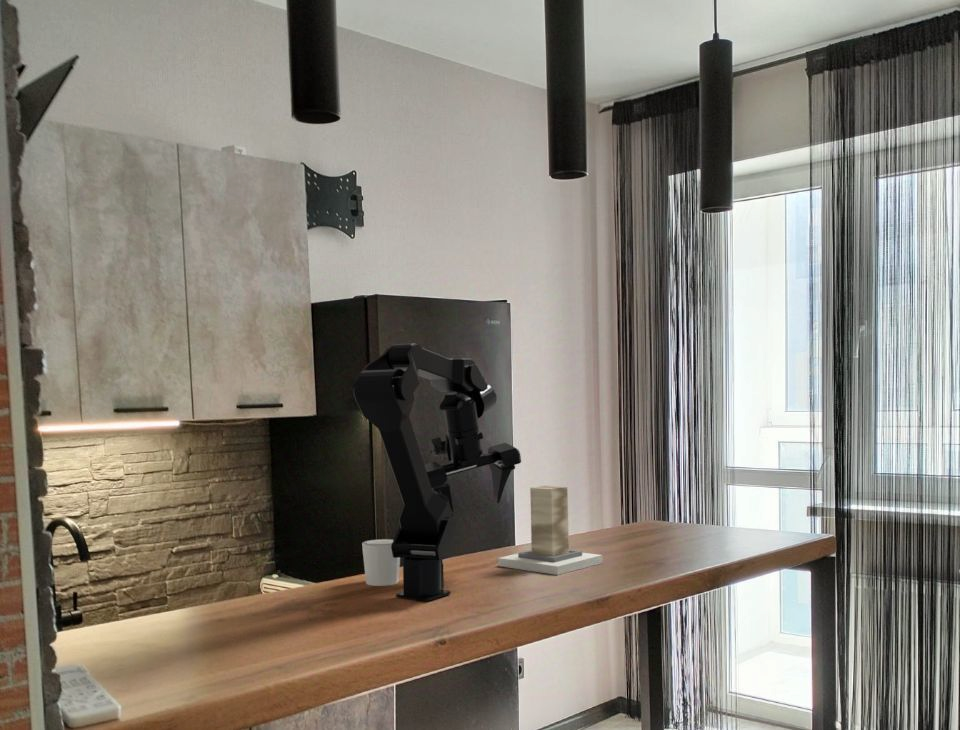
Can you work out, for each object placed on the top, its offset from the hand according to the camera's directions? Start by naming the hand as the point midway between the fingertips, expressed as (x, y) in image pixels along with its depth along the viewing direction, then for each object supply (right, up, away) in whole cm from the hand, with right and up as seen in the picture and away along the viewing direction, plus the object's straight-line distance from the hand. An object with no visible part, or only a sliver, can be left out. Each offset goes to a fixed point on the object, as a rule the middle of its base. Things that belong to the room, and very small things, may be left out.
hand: (474, 509), depth 154 cm
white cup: (-16, -12, -8) cm, 21 cm away
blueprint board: (+14, -11, +6) cm, 19 cm away
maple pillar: (+14, -10, +6) cm, 18 cm away
